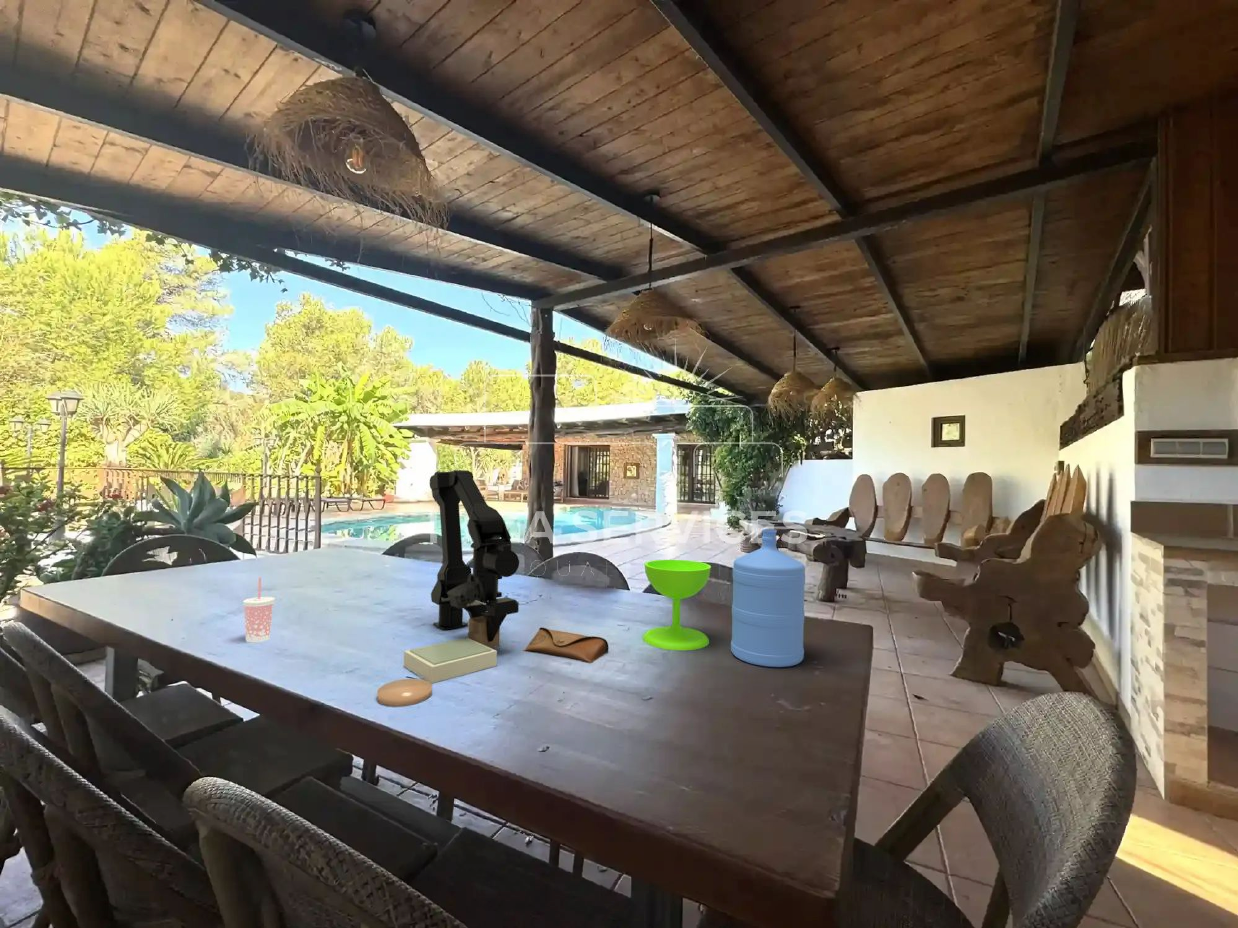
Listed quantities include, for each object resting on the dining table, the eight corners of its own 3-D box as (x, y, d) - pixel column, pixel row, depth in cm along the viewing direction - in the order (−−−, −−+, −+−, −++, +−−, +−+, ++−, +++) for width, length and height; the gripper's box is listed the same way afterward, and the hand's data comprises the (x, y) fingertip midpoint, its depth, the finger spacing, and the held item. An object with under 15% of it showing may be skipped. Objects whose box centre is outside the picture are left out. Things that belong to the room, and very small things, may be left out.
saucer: (368, 694, 97) (368, 687, 97) (417, 681, 103) (418, 674, 103) (390, 710, 91) (390, 703, 91) (441, 696, 97) (441, 689, 97)
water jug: (808, 671, 114) (811, 535, 114) (730, 664, 117) (733, 532, 117) (799, 648, 129) (801, 528, 129) (730, 642, 132) (733, 525, 132)
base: (403, 666, 111) (404, 649, 111) (466, 651, 121) (466, 635, 121) (431, 683, 103) (432, 665, 103) (496, 665, 113) (496, 649, 113)
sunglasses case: (519, 650, 122) (528, 620, 125) (533, 658, 128) (541, 629, 131) (593, 663, 115) (600, 631, 118) (604, 671, 121) (611, 641, 124)
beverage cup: (270, 641, 124) (272, 579, 124) (238, 644, 122) (240, 580, 122) (276, 634, 130) (278, 574, 130) (245, 636, 128) (247, 575, 128)
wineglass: (635, 645, 128) (637, 567, 128) (651, 627, 143) (653, 557, 144) (704, 653, 123) (706, 573, 124) (713, 633, 139) (714, 562, 139)
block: (468, 645, 125) (468, 618, 125) (487, 640, 129) (488, 614, 129) (479, 650, 122) (480, 623, 122) (499, 645, 125) (500, 619, 125)
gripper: (432, 567, 126) (431, 636, 126) (476, 580, 113) (474, 656, 113) (476, 562, 134) (474, 627, 134) (521, 574, 121) (519, 645, 121)
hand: (483, 638), depth 125 cm, fingers closed on block, 5 cm apart
